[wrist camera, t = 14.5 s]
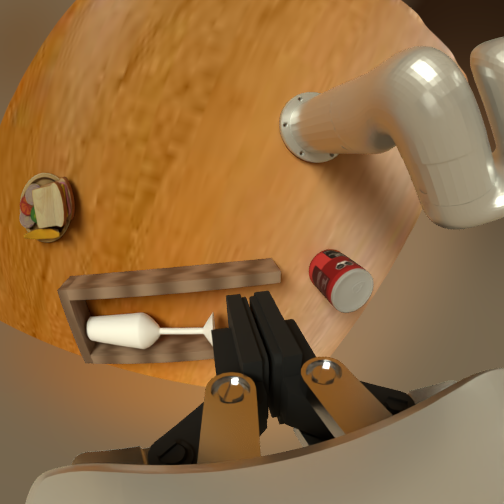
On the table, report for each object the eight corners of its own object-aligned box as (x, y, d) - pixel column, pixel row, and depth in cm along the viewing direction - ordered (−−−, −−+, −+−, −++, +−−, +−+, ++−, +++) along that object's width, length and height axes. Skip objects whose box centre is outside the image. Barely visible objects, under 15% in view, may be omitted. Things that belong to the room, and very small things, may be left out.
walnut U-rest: (271, 258, 49) (280, 271, 43) (271, 331, 54) (279, 349, 48) (70, 276, 42) (57, 290, 37) (93, 345, 48) (85, 363, 42)
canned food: (350, 260, 52) (381, 283, 42) (326, 292, 53) (351, 320, 43) (325, 239, 50) (355, 260, 39) (299, 273, 51) (323, 301, 41)
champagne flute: (215, 324, 51) (102, 323, 49) (212, 303, 46) (89, 304, 44) (216, 355, 46) (96, 351, 44) (212, 338, 41) (80, 334, 39)
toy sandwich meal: (22, 175, 34) (8, 178, 30) (78, 169, 37) (66, 171, 33) (26, 240, 38) (13, 248, 34) (81, 240, 41) (70, 249, 37)
